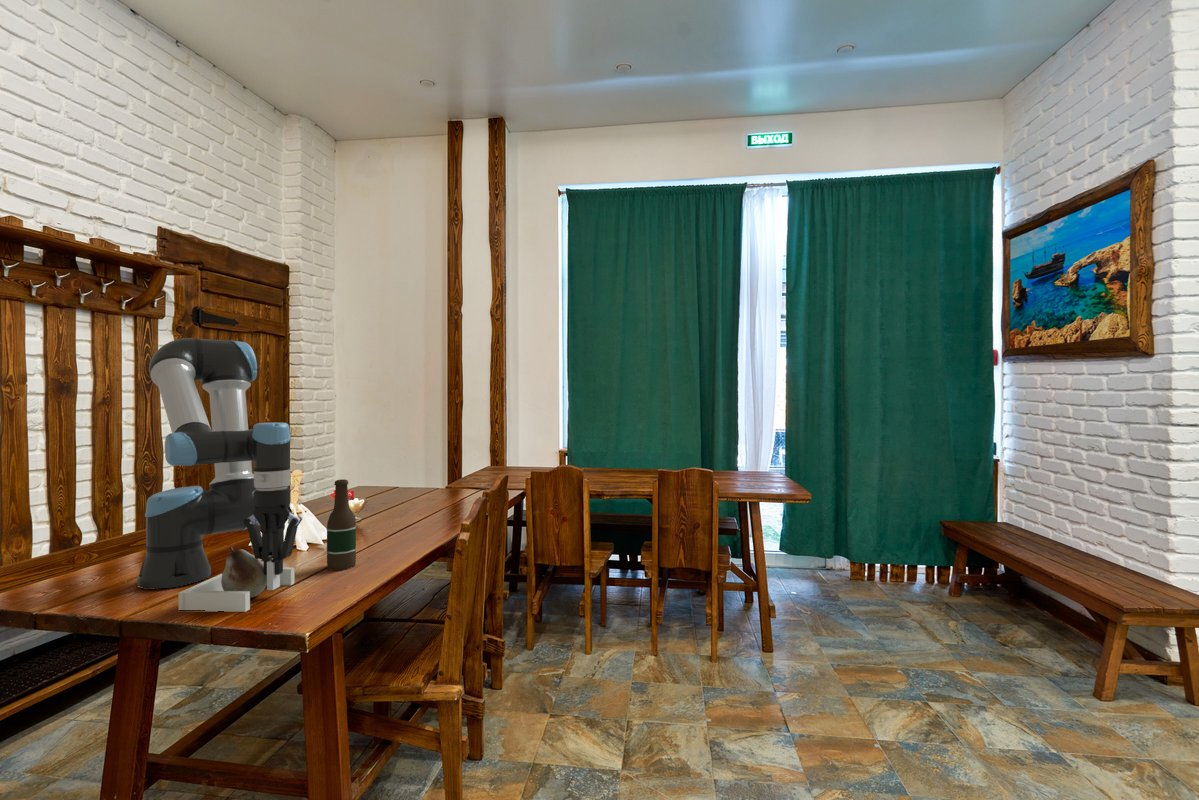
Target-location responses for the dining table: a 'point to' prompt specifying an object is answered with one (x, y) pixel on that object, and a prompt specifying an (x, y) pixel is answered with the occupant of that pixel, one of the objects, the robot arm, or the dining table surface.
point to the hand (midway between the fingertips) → (273, 588)
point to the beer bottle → (341, 531)
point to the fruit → (243, 573)
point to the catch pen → (222, 595)
